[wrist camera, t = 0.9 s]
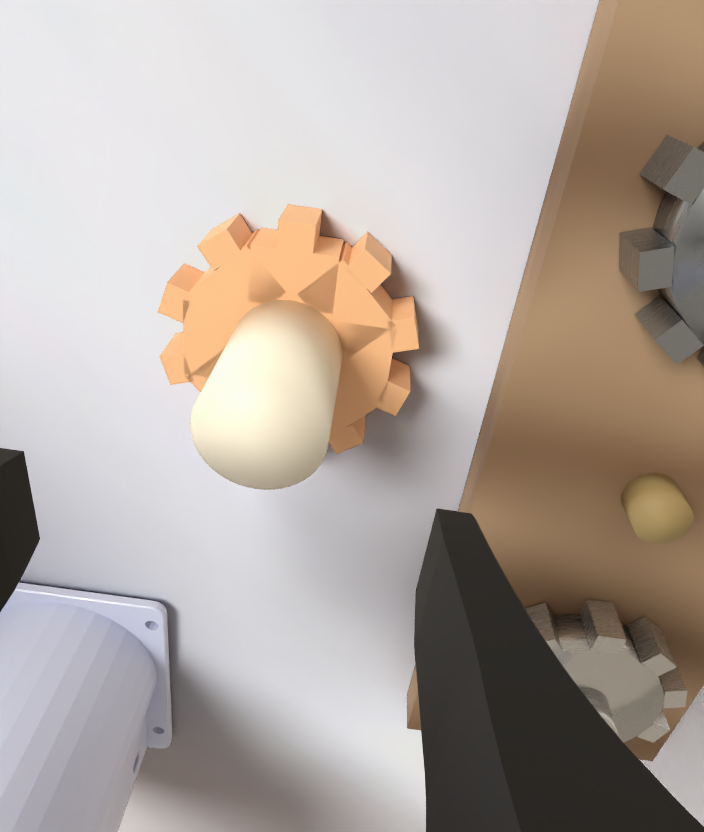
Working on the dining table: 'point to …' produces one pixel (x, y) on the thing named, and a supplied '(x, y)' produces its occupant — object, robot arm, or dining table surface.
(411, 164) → the dining table surface
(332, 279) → the loose gear
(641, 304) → the gear board
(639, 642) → the gear
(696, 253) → the gear
